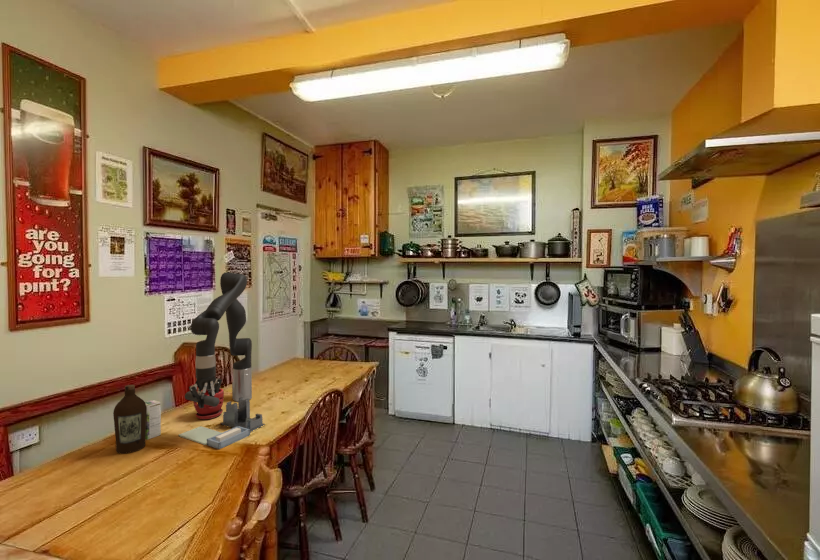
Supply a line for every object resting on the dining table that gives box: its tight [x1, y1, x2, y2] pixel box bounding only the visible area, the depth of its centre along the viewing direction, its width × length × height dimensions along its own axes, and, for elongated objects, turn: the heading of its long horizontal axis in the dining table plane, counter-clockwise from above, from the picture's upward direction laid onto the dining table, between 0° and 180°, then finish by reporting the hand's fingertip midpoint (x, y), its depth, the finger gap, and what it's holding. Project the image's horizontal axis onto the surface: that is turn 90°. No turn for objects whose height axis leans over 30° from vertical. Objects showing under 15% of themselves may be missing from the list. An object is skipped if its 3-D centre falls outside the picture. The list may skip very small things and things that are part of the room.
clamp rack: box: [220, 397, 266, 433], centre depth 174 cm, size 19×8×11 cm, turn 62°
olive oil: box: [112, 384, 147, 454], centre depth 151 cm, size 11×11×25 cm
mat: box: [177, 425, 223, 446], centre depth 163 cm, size 18×10×1 cm, turn 62°
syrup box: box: [144, 399, 162, 440], centre depth 163 cm, size 6×6×14 cm
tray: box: [206, 426, 251, 450], centre depth 159 cm, size 8×15×2 cm, turn 152°
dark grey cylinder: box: [184, 390, 219, 407], centre depth 163 cm, size 18×4×4 cm, turn 62°
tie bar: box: [216, 428, 241, 442], centre depth 159 cm, size 3×10×3 cm, turn 153°
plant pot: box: [192, 388, 225, 420], centre depth 185 cm, size 13×13×12 cm
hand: (206, 405), depth 162 cm, fingers closed on dark grey cylinder, 3 cm apart
